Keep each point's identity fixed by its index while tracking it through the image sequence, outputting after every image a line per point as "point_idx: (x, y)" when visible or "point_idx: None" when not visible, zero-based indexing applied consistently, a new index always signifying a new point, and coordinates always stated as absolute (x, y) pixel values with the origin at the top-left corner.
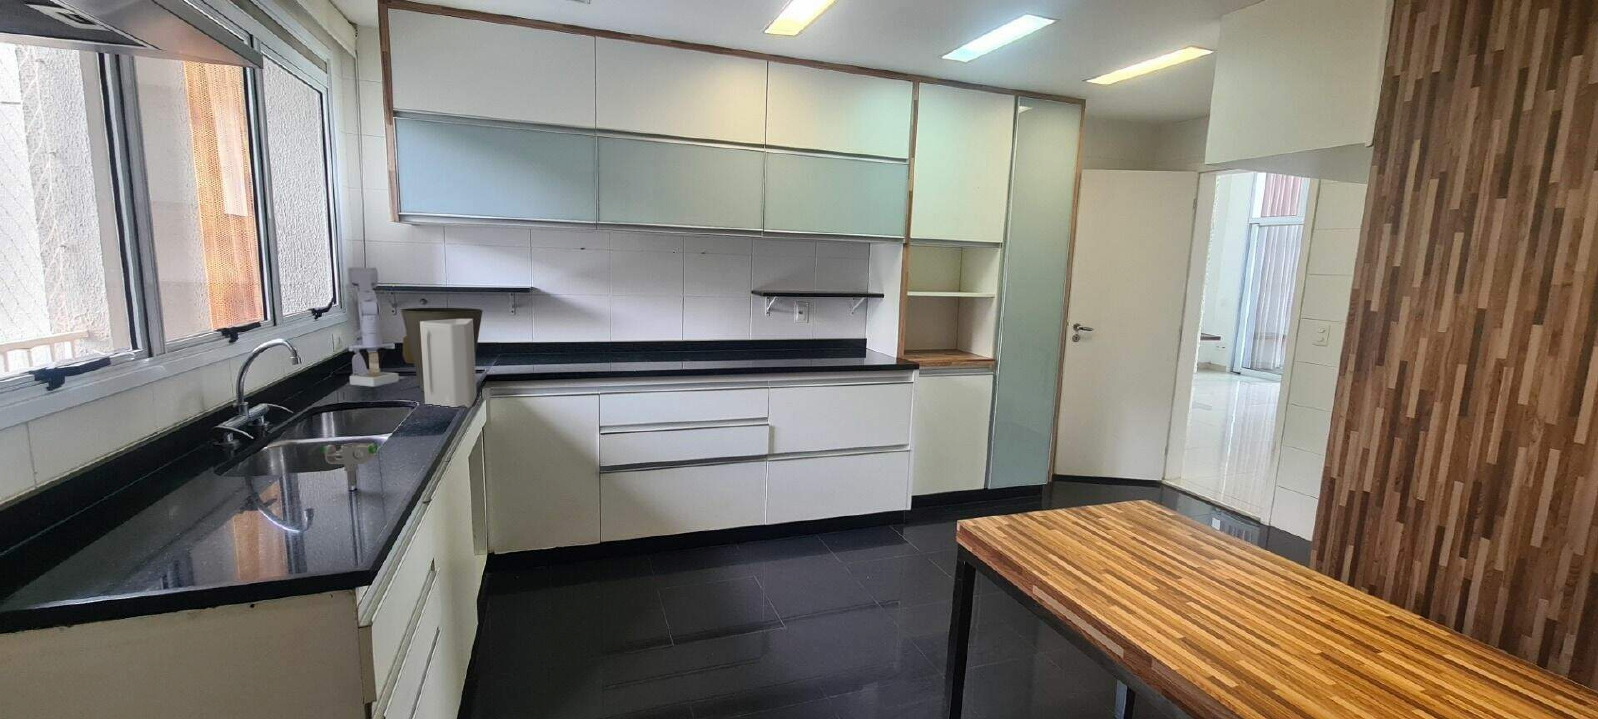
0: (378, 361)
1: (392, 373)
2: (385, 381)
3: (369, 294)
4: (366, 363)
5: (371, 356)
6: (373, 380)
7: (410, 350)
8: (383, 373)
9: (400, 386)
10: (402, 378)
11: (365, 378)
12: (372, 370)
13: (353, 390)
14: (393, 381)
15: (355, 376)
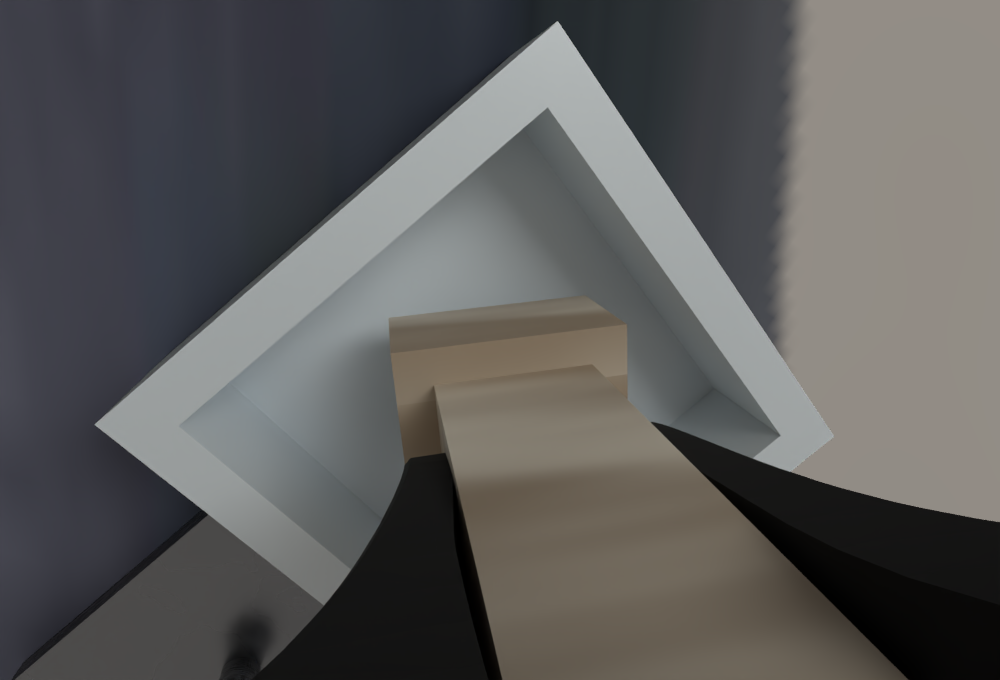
0: (465, 514)
1: (204, 450)
2: (343, 203)
3: None
4: (745, 458)
5: (728, 602)
6: (545, 30)
7: None
8: None
9: (122, 70)
10: (113, 599)
11: (659, 186)
12: (563, 387)
13: (755, 72)
14: (225, 305)
15: (774, 372)
